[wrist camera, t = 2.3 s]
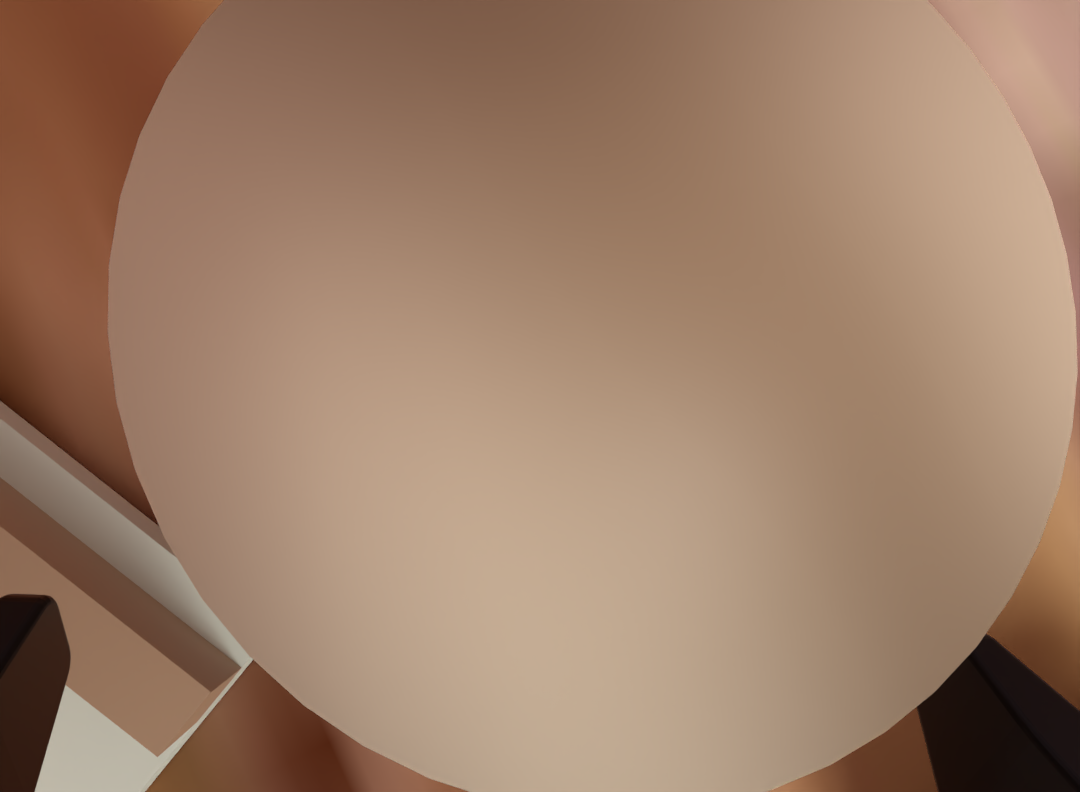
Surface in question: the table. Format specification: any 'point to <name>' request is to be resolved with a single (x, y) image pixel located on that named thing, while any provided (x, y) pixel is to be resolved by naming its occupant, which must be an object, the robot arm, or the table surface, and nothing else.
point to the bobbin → (594, 372)
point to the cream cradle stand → (108, 619)
